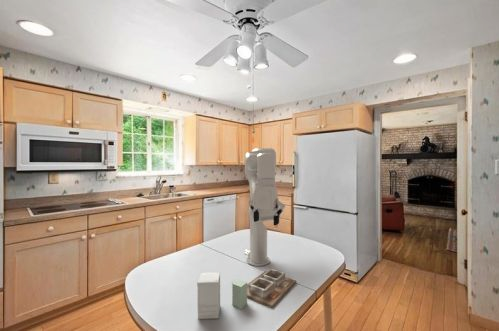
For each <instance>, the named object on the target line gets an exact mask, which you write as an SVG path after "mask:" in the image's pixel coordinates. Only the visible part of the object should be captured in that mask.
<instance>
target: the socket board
mask: <svg viewBox="0 0 499 331" xmlns="http://www.w3.org/2000/svg"><path fill="white" fill-rule="evenodd" d="M296 284H297V280H295V279H292V278H290V277H286V272H283V271H280V270H276V269H273V268H270V269H268V270H265V271H263V272H262V273H260V274H259V275H257V276H256V277H255V278H254V279H252V280H251V281H250V282H247V299H249V300H252V301H253V302H256V303H259V304H261V305H264V306H265V307H266V306H267V307H269V308H271V309H272V308H273V307H275V305H277V303H278V302H279V301H281V299H282V298H283V297H285V295H286V294H287V293H288V292H289V291H290V290H291V289H292V288H293V287H294V286H295V285H296Z"/></svg>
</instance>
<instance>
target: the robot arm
mask: <svg viewBox="0 0 499 331" xmlns="http://www.w3.org/2000/svg"><path fill="white" fill-rule="evenodd" d="M276 166H277V153H276V150H275V149H274V148H271V147H270V148H269V147H263V148H262V147H256V148H254V149H252V150H251V151H248V152H246V153H245V155H244V171H245V172H244V173H245V176H246V178H247V181H248V184H249V196H250V200H249V201H248V204H249V207H248V211H247V212H248V218H249V250H248V249H245V252H244V255H245V256H247V259H246V262H247V263H248V264H249V265H251V266H253V267H263V266H268V265H269V264H270V263H271V259H270V257H269V256H268V228H267V227H266V225H265V223H263V222H273V226H277V225H279V223H280V219H281V214H282V213H283V211H284V210H285V207H286V205H285V204H284V203H283V202H281V201H280V199H279V195H278V189H277V186H276Z"/></svg>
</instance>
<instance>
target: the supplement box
mask: <svg viewBox="0 0 499 331" xmlns="http://www.w3.org/2000/svg"><path fill="white" fill-rule="evenodd" d="M196 286H197V319H198V320H200V319H201V320H203V319H205V320H206V319H210V320H211V319H219V318H220V312H221V311H220V310H221V272H218V271H217V272H201V273H200V275H199V278H198V281H197V285H196Z"/></svg>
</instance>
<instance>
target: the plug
mask: <svg viewBox="0 0 499 331" xmlns="http://www.w3.org/2000/svg"><path fill="white" fill-rule="evenodd" d="M247 284H248V282H247V281H244V280H242V279H237V280H236V281H235V282H233V283H232V286H231V288H232V294H231V295H232V296H231V297H232V300H231V302H232V304H231V305H232V306H233V307H236V308H238V309H241V310H242V309H243V308H244V307H245V306H246V305H247V304H248V298H247Z"/></svg>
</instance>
